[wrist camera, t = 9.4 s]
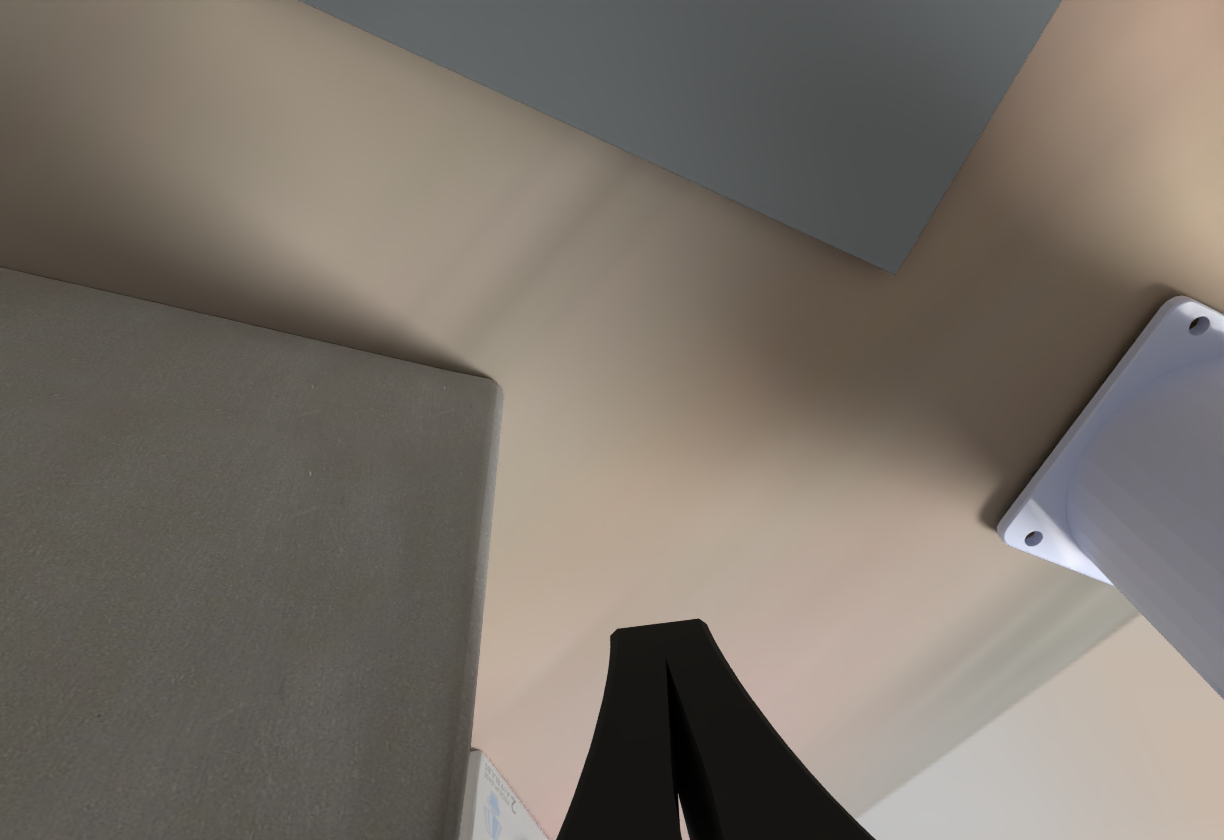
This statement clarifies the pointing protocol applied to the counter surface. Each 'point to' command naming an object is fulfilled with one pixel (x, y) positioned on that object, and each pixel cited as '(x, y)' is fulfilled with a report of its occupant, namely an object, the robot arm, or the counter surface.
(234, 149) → the counter surface
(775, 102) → the rubber mat
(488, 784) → the light bulb box
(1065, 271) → the counter surface
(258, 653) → the gray chamfered slab
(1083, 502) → the robot arm
